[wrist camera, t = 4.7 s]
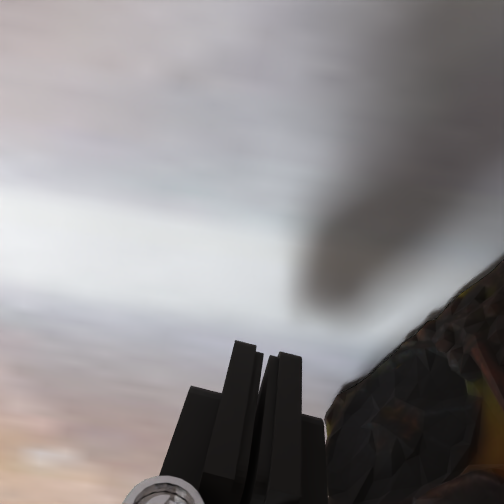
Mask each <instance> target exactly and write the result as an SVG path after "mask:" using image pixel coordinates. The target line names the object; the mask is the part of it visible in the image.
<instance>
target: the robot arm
mask: <svg viewBox="0 0 504 504" xmlns="http://www.w3.org/2000/svg"><path fill="white" fill-rule="evenodd" d="M263 355H264V353H260V352H256V345H253V344H249V343H245V342H241V341H237V340H235V343H234V347H233V351H232V355H231V359H230V363H229V367H228V371H227V375H226V379H225V383H224V387H223V391H222V393H218V392H214V391H210V390H206V389H202V388H198V387H194V386H191V387H190V389H189V392H188V395H187V397H186V400H185V403H184V406H183V409H182V412H181V415H180V417H179V420H178V423H177V426H176V429H175V432H174V435H173V437H172V440H171V443H170V446H169V449H168V452H167V455H166V457H165V460H164V463H163V466H162V469H161V472H160V475H159V476H155V477H152V478H149V479H145V480H144V481H142V482H141V483H139V484H137V485H136V486H135V487H134V488H133V489H132V490H131V491H130V493H129V494H128V495H127V496H126V498H125V500H124V501H123V503H122V504H328V490H327V471H326V453H325V435H324V422H323V420H322V419H321V418H317V417H313V416H309V415H305V414H302V357H300V356H296V355H292V354H288V353H284V352H279V354H278V357H276V356H272V355H270V356H269V359H268V363H267V366H266V370H265V373H264V377H263V380H262V384H261V387H260V390H259V384H260V377H261V370H262V363H263ZM258 392H259V394H258Z"/></svg>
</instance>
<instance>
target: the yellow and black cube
mask: <svg viewBox="0 0 504 504" xmlns="http://www.w3.org/2000/svg"><path fill="white" fill-rule="evenodd" d="M324 421H325V424H326V429H327V440H326V444H325V453H326V471H327V490H328V496H329V497H328V504H504V260H503V261H502V262H501V263H500V264H499V265H498V266H497V267H496V268H495V269H494V270H493V271H492V272H491V273H489V274H488V275H486V276H485V277H484V278H482V279H481V280H480V281H478V282H477V283H476V284H474V285H473V286H471V287H470V288H468V289H467V290H466V291H464V292H463V293H461V294H460V295H459V296H458V297H457V298H456V299H455V300H454V301H453V302H452V303H451V304H450V305H449V306H448V307H447V308H446V309H445V310H444V311H443V312H442V313H441V314H440V315H439V317H438V318H437V319H436V320H432V321H428V322H427V323H426V324H425V325H424V326H423V327H422V328H421V330H420V331H419V332H418V333H417V334H416V335H415V336H413V337H412V338H410V339H409V340H407V341H406V342H404V343H402V344H401V346H400V348H399V350H398V351H397V352H396V353H394V354H393V355H392V356H391V357H390V358H389V359H387V360H386V361H385V362H384V363H383V364H382V365H381V366H379V367H378V368H377V369H376V370H375V372H373V373H372V374H371V375H369V376H368V377H367V378H366V379H364V380H363V381H362V382H360V383H359V384H358V385H356V386H354V387H352V388H350V389H349V390H347V391H345V392H343V393H341V394H339V395H337V397H336V399H335V400H334V402H333V404H332V405H331V407H330V408H329V409H328V411H327V412H326V415H325V419H324Z"/></svg>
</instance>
